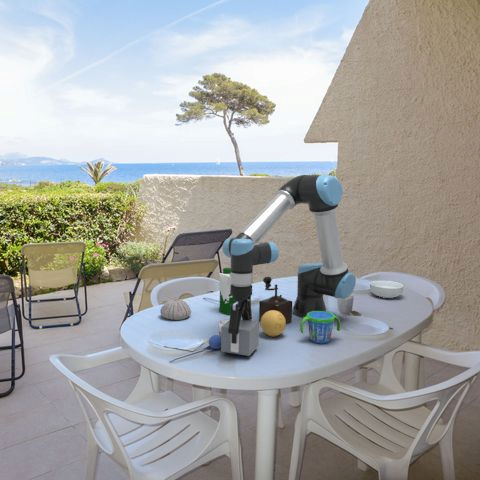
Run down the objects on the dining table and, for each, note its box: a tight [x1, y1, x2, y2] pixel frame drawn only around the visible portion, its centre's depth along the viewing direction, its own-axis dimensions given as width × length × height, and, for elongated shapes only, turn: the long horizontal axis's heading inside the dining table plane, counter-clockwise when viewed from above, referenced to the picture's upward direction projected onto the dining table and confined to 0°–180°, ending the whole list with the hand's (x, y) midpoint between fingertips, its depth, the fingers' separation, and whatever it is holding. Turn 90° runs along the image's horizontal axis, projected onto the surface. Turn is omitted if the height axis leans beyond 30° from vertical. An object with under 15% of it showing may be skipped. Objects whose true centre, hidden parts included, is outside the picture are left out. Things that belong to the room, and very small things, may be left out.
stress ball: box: [259, 310, 287, 338], centre depth 172 cm, size 10×10×10 cm
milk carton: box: [218, 267, 235, 316], centre depth 202 cm, size 9×9×20 cm
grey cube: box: [220, 318, 260, 357], centre depth 155 cm, size 10×10×9 cm
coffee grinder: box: [258, 276, 293, 325], centre depth 191 cm, size 16×11×18 cm
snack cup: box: [299, 311, 342, 344], centre depth 168 cm, size 16×10×10 cm
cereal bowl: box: [369, 280, 404, 299], centre depth 234 cm, size 17×17×7 cm
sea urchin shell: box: [159, 298, 192, 321], centre depth 194 cm, size 13×14×8 cm
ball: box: [208, 334, 221, 350], centre depth 159 cm, size 5×5×5 cm
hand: (240, 346), depth 155 cm, fingers closed on grey cube, 10 cm apart
